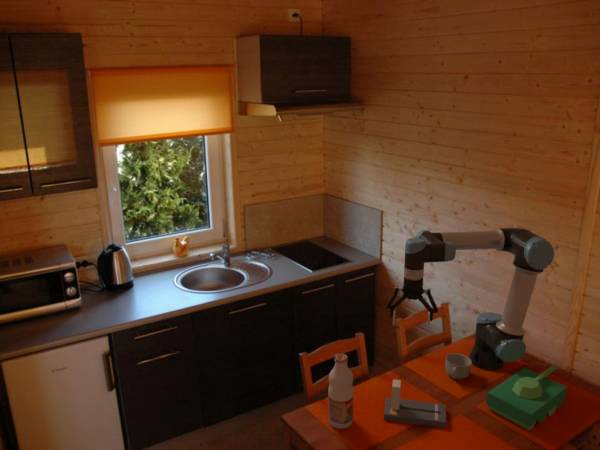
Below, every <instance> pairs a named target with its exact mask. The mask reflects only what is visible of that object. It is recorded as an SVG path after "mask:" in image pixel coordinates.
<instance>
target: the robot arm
mask: <svg viewBox="0 0 600 450" xmlns="http://www.w3.org/2000/svg"><path fill="white" fill-rule="evenodd" d="M404 245H405V246H404V267H403V286H402V287H399V285H396V286H395V288H394V291H393V293H392V295H391V297H390V299H389V300H388V301H387V303H386V306H385V309H388V310H390V313H389V314H390V315H389V316H390V318H392V326H394V327H395V325H396V311H397V310H396V309H397V307H398V306H400V305H401V304H402V302H404V301H406V299H407V300H409V301H411V300H414V301H417V300H418V301H419V303H421V304H422V305H423V306H424V308H425V309H426V310H427V311H428V312H427V322H426V324H427V325H426V329H427V330H430V322H431V321H433V320H434V314H438V313H439V308H438V306H437V303H436V302H435V299H434V296H433V295H432V291H431V288H427V289H424V287H423V286H424V274H425V273H424V272H425V263H426V264H427V263H429V264H430V263H442V262H443V263H446V262H452V261H454V259H455V258H456V253H457V252H456V251H463V250H464V251H465V250H466V251H467V250H495V251H497V252H507V253H509V254H512V255H514V258H513V262H512V265H513V266H514V268H515V270H514V273H513V277H512V281H511V283H510V288H509V290H508V291H509V292H508V295H507V299H506V301H505V305H504V308H503V312H502V314H500V313H498V312H487V311H486V312H481V313H479V314H478V315H477V317H476V322H475V323H476V325H475V334H474V335H475V336H474V344H473V346H472V348H471V350H470V352H469V357H468V358H470V359H471V361H472V364H471V365H473V366H475V367H477V368H479V369H482V370H487V371H497V370H500V369H502V368H503V367H504V366H505V362H506V363H513V362H516V361H518V360H520V359H521V358H523V356H524V355H525V353H526V351H527V345H526V343H525V341H524V337H525V329H524V328H523V327H524V322H525V319H526V315H527V312H528V309H529V306H530V303H531V298H532V296H533V294H534V293H533V292H534V289H535V286H536V282H537V279H538V275H539V274H542V273H543V272H544V269H547V268H548V267H549V266H550V265H551V264H553V261H554V257H555V249H554V247H553V246H552V244H551V243H550V242H549V241H548V240H547V239H546V238H544V237H542V236H540V235H538V234H536V233H534V232H533V231H531V230H529V229H526V228H519V227H499V228H495V229H494V230H485V231H484V230H482V231H480V230H478V231H477V230H476V231H448V232H447V231H445V232H431V231H429V230H426V229H421V230H419V231H418V232H417V233H416V234H415V237H410V238H408V239H407V240H406V242H405V244H404ZM401 292H402V295H401V296H400V297H398V299H397V300H395V299H396V298H397V296H398V294H400V293H401ZM423 294H425V296H427V299H428V300H429V303H428V301H427V300H426V299H425V298H424V296H423ZM394 300H395V302H394ZM393 302H394V303H393ZM430 304H431V305H430Z"/></svg>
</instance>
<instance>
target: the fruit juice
mask: <svg viewBox="0 0 600 450" xmlns="http://www.w3.org/2000/svg"><path fill="white" fill-rule="evenodd" d="M333 359H334V362H335V363H334V367H333V368H332V369H331V371H330V372H329V374H328V382H329V383H328V384H329V386H328V389H327V391H328V392H327V395H328V396H327V404H328V405H327V407H328V408H327V413H328V414H327V419H328V420H327V421H328V423H329V426H331V427H333V428H335V429H340V430H341V429H343V430H344V429H347V428H350V426H352V424H353V421H354V387H353V382H354V374H353V372H352V371H351V370H350V369H349V366H348V360H349V357H348V355H347V354H345V353H337V354H335V355H334V358H333Z"/></svg>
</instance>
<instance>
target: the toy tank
mask: <svg viewBox="0 0 600 450" xmlns="http://www.w3.org/2000/svg"><path fill="white" fill-rule="evenodd" d="M558 368H559V365H558V364H556V363H554V364H553V365H552V366H550V367H548V368H547V369H546V370H544V371H543V372H542V373H538V372H535V371H533V370H531V369H529V368H526V367H523V368H522V369H520V370H519V371H517V372H516V373H515V374H513V375H512V376H510V377H509V378H507V379H506V380H504V381H502V382H501V383H500V384H498V385H497V386H495V387H494V388H492V389H491V390H490V391H487V395H486V403H485V404H486V405H487V408H488V410H490V411H492V412H494V413H496V414H497V415H499V416H501V417H503V418H504V419H507V420H508V421H511V422H513V423H514V424H516V425H518V426H520V427H522V428H524V429H526V430H527V431H530V430H532V429H533V428H534V426H535V424H536V422H537V423H539V424H542V423H544V422H545V421H546V418H547V417H548V416H550V417H551V416H552V415H553V414H555V412H556V410H558V409H559V408H560V407H562V406H563V405H562V404H563V403H564V399H566V395H567V389H568V387H567V386H566V385H564V384H562V383H560V382H557V381H555V380H553V379H551V378H548V376H549V375H550V374H552V373H554V372H555V370H557V369H558Z"/></svg>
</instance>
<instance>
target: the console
mask: <svg viewBox="0 0 600 450" xmlns="http://www.w3.org/2000/svg"><path fill="white" fill-rule="evenodd" d="M391 403H392V397H388V396H386V398H385V403H384V411H383V420H384V421H389V422H398V423H405V424H413V425H420V426H421V425H422V426H427V427H434V428H442V429H446V427H447V408H446V406H447V405H446V404H442V403H434V402H427V401H418V400H412V399H403V398H400V406H399V410H394V409H391Z"/></svg>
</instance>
